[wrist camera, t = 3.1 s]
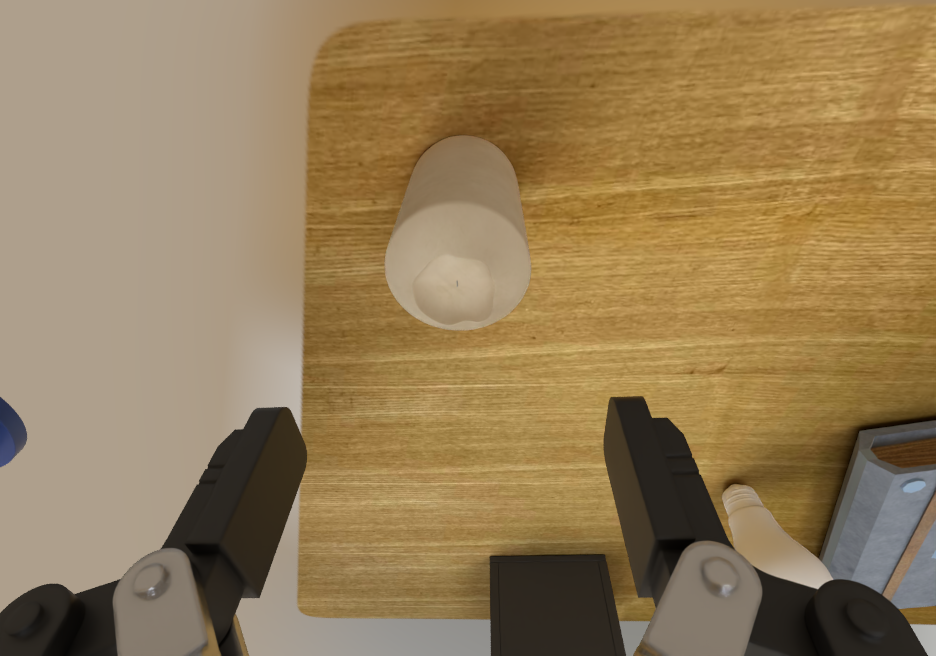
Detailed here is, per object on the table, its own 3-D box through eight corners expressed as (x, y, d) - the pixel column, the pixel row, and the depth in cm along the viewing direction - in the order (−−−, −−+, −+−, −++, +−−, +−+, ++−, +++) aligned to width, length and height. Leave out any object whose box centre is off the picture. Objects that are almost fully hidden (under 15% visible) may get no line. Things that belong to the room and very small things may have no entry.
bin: (494, 607, 54) (496, 701, 47) (489, 556, 47) (491, 657, 40) (595, 606, 53) (612, 702, 46) (605, 554, 46) (626, 656, 39)
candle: (466, 107, 23) (458, 185, 15) (539, 191, 25) (566, 298, 17) (388, 185, 25) (345, 289, 17) (462, 255, 27) (454, 375, 19)
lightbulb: (780, 495, 40) (864, 644, 31) (705, 515, 42) (764, 660, 33) (766, 453, 37) (855, 606, 28) (686, 477, 39) (745, 626, 30)
